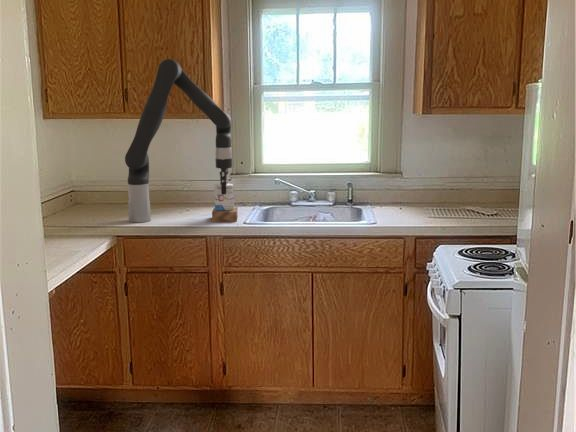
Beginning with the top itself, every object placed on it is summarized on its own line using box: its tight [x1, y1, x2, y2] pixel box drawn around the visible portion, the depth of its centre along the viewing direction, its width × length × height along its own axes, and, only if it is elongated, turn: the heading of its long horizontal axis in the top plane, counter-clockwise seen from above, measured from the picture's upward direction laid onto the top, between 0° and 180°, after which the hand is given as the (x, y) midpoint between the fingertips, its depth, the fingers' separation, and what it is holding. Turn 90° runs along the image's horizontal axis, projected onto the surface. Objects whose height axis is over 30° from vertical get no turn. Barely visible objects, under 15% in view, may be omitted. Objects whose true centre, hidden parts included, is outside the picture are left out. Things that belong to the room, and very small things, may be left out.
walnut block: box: [211, 206, 239, 223], centre depth 268 cm, size 11×11×5 cm
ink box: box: [213, 183, 235, 211], centre depth 267 cm, size 9×5×12 cm, turn 102°
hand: (224, 192), depth 266 cm, fingers open, 8 cm apart
